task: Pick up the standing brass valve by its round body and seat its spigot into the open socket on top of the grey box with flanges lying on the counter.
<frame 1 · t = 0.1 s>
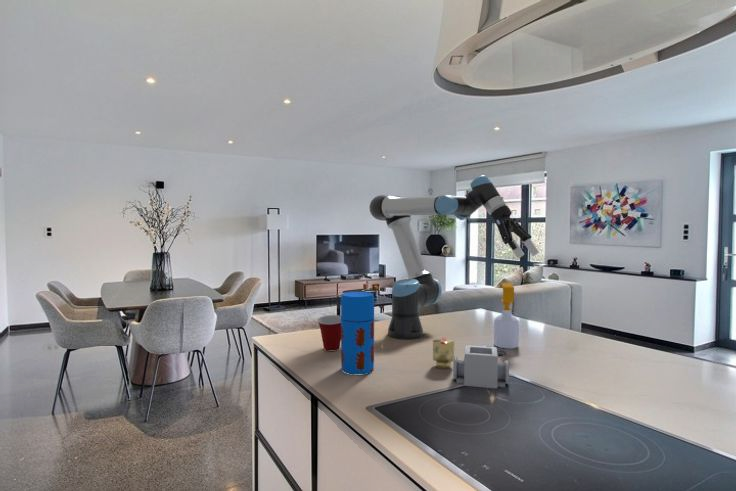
hand: (528, 255, 162), 36 cm above the kitchen island, fingers open, 13 cm apart
thermos: (357, 370, 142), on the kitchen island
plastic cup: (331, 349, 165), on the kitchen island
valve: (443, 366, 145), on the kitchen island
grey box with flanges: (480, 381, 131), on the kitchen island
soap bottle: (506, 346, 169), on the kitchen island
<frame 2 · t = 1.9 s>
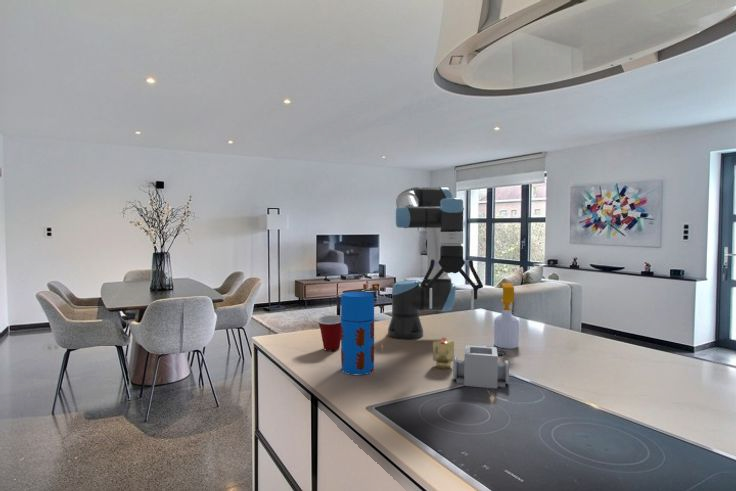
hand: (451, 308, 144), 19 cm above the kitchen island, fingers open, 13 cm apart
nothing on the kitchen island moved.
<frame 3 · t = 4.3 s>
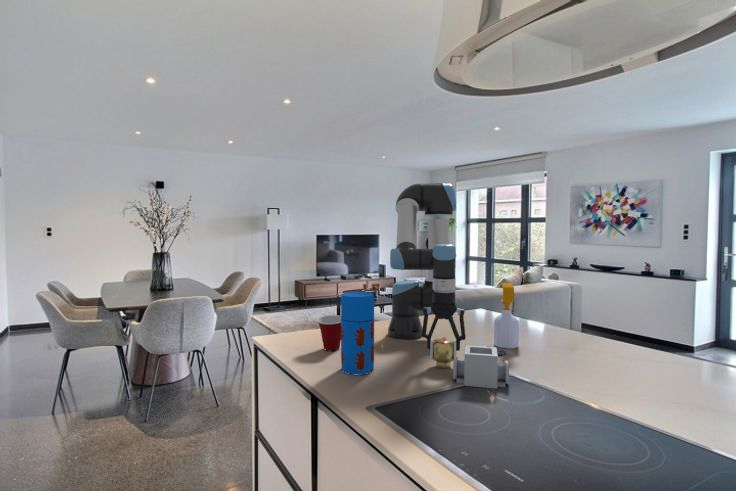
hand: (443, 359, 145), 3 cm above the kitchen island, fingers closed on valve, 7 cm apart
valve: (443, 366, 145), on the kitchen island, touching gripper
everything else where it was.
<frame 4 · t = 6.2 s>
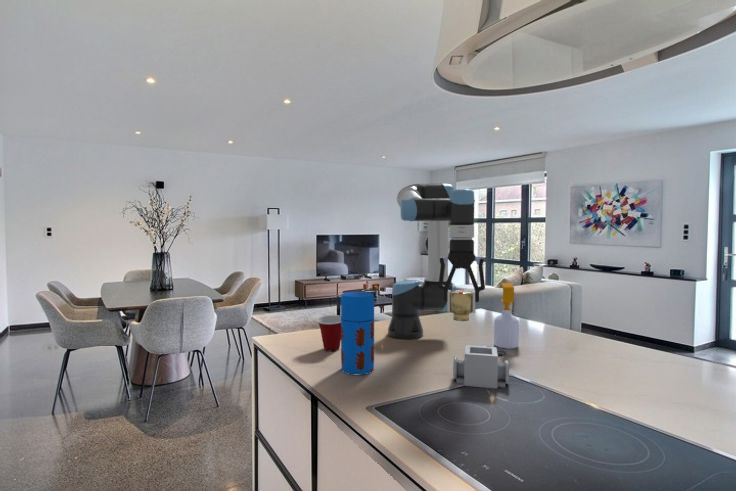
hand: (461, 311, 136), 20 cm above the kitchen island, fingers closed on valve, 7 cm apart
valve: (461, 319, 136), point 18 cm above the kitchen island, touching gripper
everything else where it was.
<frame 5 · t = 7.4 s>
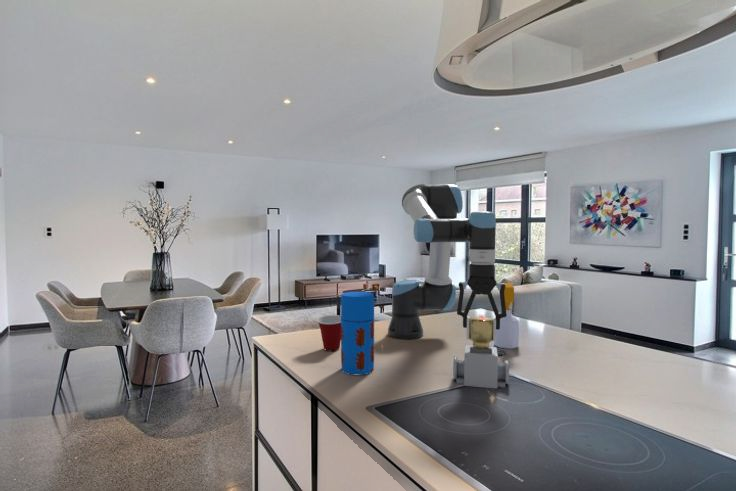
hand: (481, 338, 131), 13 cm above the kitchen island, fingers closed on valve, 7 cm apart
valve: (480, 347, 131), point 10 cm above the kitchen island, touching gripper
everything else where it was.
when the fingers open (10 cm above the kitchen island, at t = 8.3 s): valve stays where it is, resting on grey box with flanges.
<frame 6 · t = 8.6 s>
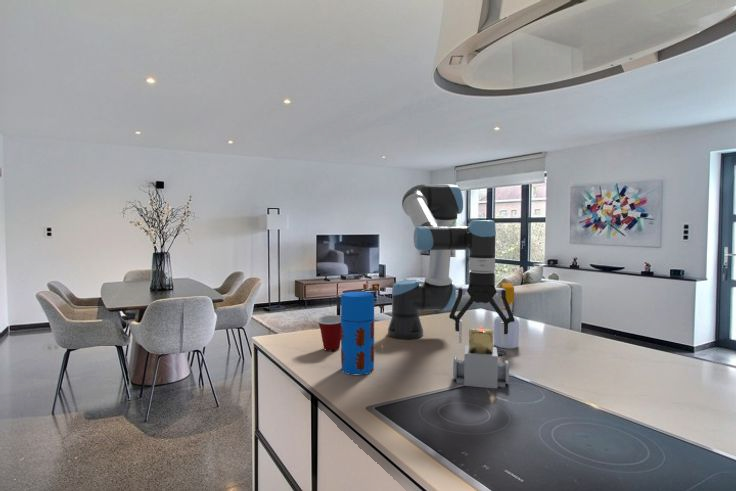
hand: (481, 343, 131), 12 cm above the kitchen island, fingers open, 11 cm apart
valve: (480, 358, 131), point 7 cm above the kitchen island, touching grey box with flanges
everything else where it was.
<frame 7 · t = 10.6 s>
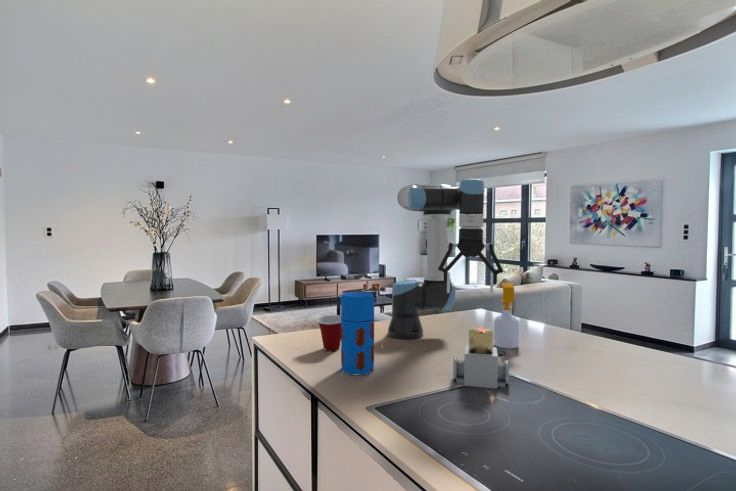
hand: (469, 293, 140), 25 cm above the kitchen island, fingers open, 13 cm apart
nothing on the kitchen island moved.
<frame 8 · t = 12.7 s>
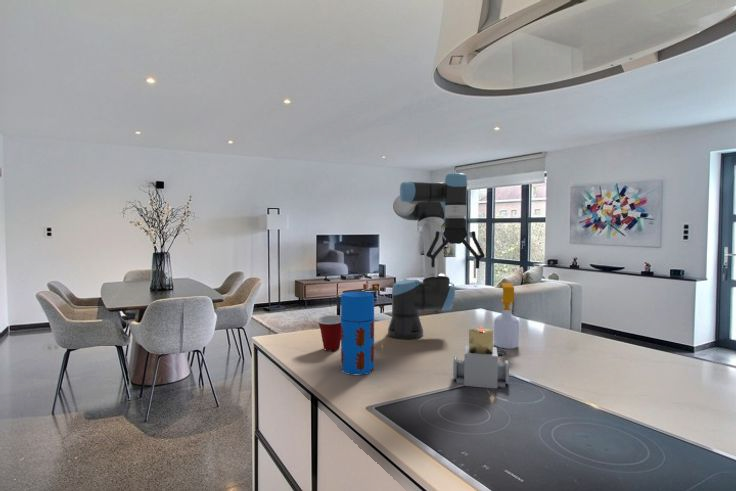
hand: (455, 277, 154), 29 cm above the kitchen island, fingers open, 13 cm apart
nothing on the kitchen island moved.
at the end: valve 0.0 cm off-centre on the grey box with flanges, point 7.0 cm above the grey box with flanges's base; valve tilted 0°; the gripper is holding nothing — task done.
